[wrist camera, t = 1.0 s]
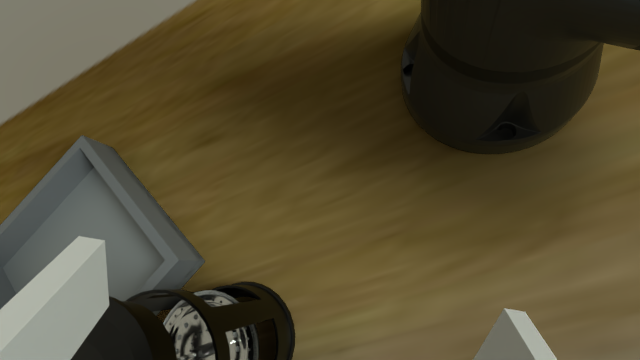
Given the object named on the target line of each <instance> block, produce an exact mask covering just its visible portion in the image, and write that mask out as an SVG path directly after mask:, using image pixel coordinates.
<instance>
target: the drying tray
mask: <svg viewBox="0 0 640 360" xmlns="http://www.w3.org/2000/svg"><path fill="white" fill-rule="evenodd" d="M78 236H82V237H88V238H94V239H100V240H105V250H106V264H107V279H108V294H109V296H110V297H113V298H116V299H118V300H119V301H126V300H127V299H129V298H130V297H132V296H134V295H136V294H139V293H141V292H144V291H149V290H155V289H181V288H182V287H183V286H184V285H185V283H186V282H187V281H188V280H189V279H190V278H191V277H192V276H193V275H194V273H195V272H196V271H197V270H198V269H199V268H200V267H201V266H202V265H203V263H204V262H205V261H204V259H203V258H202V257H201V256H200V254H199V253H198V252H197V251H196V249H195V248H194V247H193V246H192V245H191V243H190V242H189V241H188V240H187V238H186V237H185V236H184V235H183V234H182V232H181V231H180V230H179V229H178V227H177V226H176V225H175V224H174V222H173V221H172V220H171V219H170V218H169V216H168V215H167V214H166V213H165V211H164V210H163V209H162V208H161V206H160V205H159V204H158V203H157V202H156V200H155V199H154V198H153V197H152V195H151V194H150V193H149V192H148V191H147V189H146V188H145V187H144V186H143V184H142V183H141V182H140V181H139V179H138V178H137V177H136V176H135V175H134V173H133V172H132V171H131V170H130V168H129V167H128V166H127V165H126V164H125V162H124V161H123V160H122V159H121V157H120V156H119V155H118V154H117V152H116V151H115V150H114V149H113V148H112V147H110V146H107V145H105V144H102V143H100V142H98V141H95V140H93V139H90V138H88V137H85V136H83V135H82V136H81V137H80V138H79V139H78V140H77V141H76V142H75V143H74V145H73V146H72V147H71V148H70V149H69V150H68V151H67V152H66V153H65V154H64V156H63V157H62V158H61V159H60V160H59V161H58V162H57V163H56V164H55V165H54V167H53V168H52V169H51V170H50V171H49V172H48V173H47V174H46V175H45V176H44V178H43V179H42V180H41V181H40V182H39V183H38V184H37V185H36V186H35V187H34V189H33V190H32V191H31V192H30V193H29V194H28V195H27V196H26V197H25V198H24V200H23V201H22V202H21V203H20V204H19V205H18V206H17V207H16V208H15V209H14V211H13V212H12V213H11V214H10V215H9V216H8V217H7V218H6V219H5V220H4V222H3V223H2V224H1V225H0V309H1V308H2V307H3V306H5V305H6V304H7V303H8V302H9V301H10V300H11V299H12V298H13V297H14V296H15V295H16V294H17V293H18V292H20V291H21V290H22V289H23V288H24V287H25V286H26V285H27V284H28V283H29V282H30V281H31V280H32V279H33V278H34V277H36V276H37V275H38V274H39V273H40V272H41V271H42V270H43V269H44V268H45V267H46V266H47V265H48V264H49V263H51V262H52V261H53V260H54V259H55V258H56V257H57V256H58V255H59V254H60V253H61V252H62V251H63V250H64V249H65V248H67V247H68V246H69V245H70V244H71V243H72V242H73V241H74V240H75V239H76V238H77V237H78ZM166 294H167V293H159V294H156V295H166ZM159 312H160V311H153V313H154V314H155V315H156V316H157V315H158V313H159Z"/></svg>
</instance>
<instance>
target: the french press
mask: <svg viewBox="0 0 640 360" xmlns="http://www.w3.org/2000/svg"><path fill="white" fill-rule="evenodd" d="M159 293H167V294H166V295H156V294H159ZM238 297H251V298H255V299H257V300H254V301H248V302H241V303H240V302H239V301H237V300H236V299H235V298H238ZM168 309H172V310H171V311H170V313H169V314H168V316H167V317H166V319H165V321H164V323H162V321H161V320H160V319H159V318H158V317H157V316H156V315H155V314H154V313H153V311H161V310H168ZM270 319H272V321H273V325H274V328H275V333H276V355H275V359H274V360H291V359H292V357H293V352H294V347H295V330H294V323H293V320H292V317H291V314H290V311H289V310H288V308H287V306H286V304H285V302H284V301H283V300H282V299H281V298H280V296H279V295H278V294H277V293H275V292H274V291H273V290H272V289H270V288H268V287H266V286H264V285H262V284H259V283H255V282H240V283H235V284H232V285H226V286H221V287H217V288H215V289H212V290H205V291H200V292H188V291H185V290H181V289H155V290H149V291H144V292H141V293H139V294H136V295H134V296H132V297H130V298H129V299H127V300H126V301H119V300H118V299H116V298H113V297H110V296H109V307H108V308H107V309H106V311H105V312H104V314H103V315H102V316H101V318H100V319H99V321H98V322H97V323H96V325H95V326H94V328H93V329H92V330H91V332H90V333H89V335H88V336H87V337H86V339H85V340H84V342H83V343H82V344H81V346H80V347H79V349H78V350H77V351H76V353H75V354H74V356H73V357H72V358H71V360H259V338H258V333H257V328H256V325H255V324H256V323H259V322H263V321H266V320H270Z"/></svg>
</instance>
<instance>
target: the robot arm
mask: <svg viewBox="0 0 640 360" xmlns="http://www.w3.org/2000/svg"><path fill="white" fill-rule="evenodd" d="M604 43H606V44H611V45H615V46H620V47H625V48H630V49H635V50H640V0H421V13H420V15H419V17H418V19H417V21H416V23H415V25H414V27H413V29H412V31H411V34H410V36H409V38H408V40H407V42H406V45H405V48H404V51H403V55H402V61H401V82H402V91H403V96H404V100H405V103H406V105H407V107H408V110H409V111H410V113H411V115H412V116H413V118H414V119H415V121H416V122H417V123H418V124H419V125H420V126H421V127H422V128H423V129H424V130H425V131H426V132H427V133H428V134H430V135H431V136H432V137H434V138H435V139H437V140H439V141H440V142H442V143H444V144H446V145H448V146H451V147H454V148H456V149H460V150H463V151H467V152H473V153H481V154H500V153H508V152H514V151H518V150H522V149H525V148H528V147H531V146H534V145H536V144H538V143H540V142H542V141H544V140H546V139H548V138H549V137H551V136H552V135H554V134H555V133H556V132H558V131H559V130H560V129H561V128H562V127H564V126H565V125H566V124H567V123H568V122H569V121H570V120H571V118H572V117H573V116H574V115H575V114H576V113H577V112H578V111H579V110H580V109H581V108H582V106H583V105H584V104H585V102H586V101H587V99H588V97H589V96H590V94H591V92H592V90H593V88H594V86H595V83H596V80H597V77H598V73H599V68H600V62H601V56H602V50H603V44H604ZM108 307H109V294H108V279H107V264H106V250H105V240H100V239H94V238H88V237H82V236H78V237H77V238H76V239H75V240H74V241H73V242H72V243H71V244H70V245H69V246H68V247H67V248H65V249H64V250H63V251H62V252H61V253H60V254H59V255H58V256H57V257H56V258H55V259H54V260H53V261H52V262H51V263H49V264H48V265H47V266H46V267H45V268H44V269H43V270H42V271H41V272H40V273H39V274H38V275H37V276H36V277H34V278H33V279H32V280H31V281H30V282H29V283H28V284H27V285H26V286H25V287H24V288H23V289H22V290H21V291H20V292H18V293H17V294H16V295H15V296H14V297H13V298H12V299H11V300H10V301H9V302H8V303H7V304H6V305H5V306H3V307H2V308H1V309H0V360H71V358H72V357H73V356H74V354H75V353H76V351H77V350H78V349H79V347H80V346H81V344H82V343H83V342H84V340H85V339H86V337H87V336H88V335H89V333H90V332H91V330H92V329H93V328H94V326H95V325H96V323H97V322H98V321H99V319H100V318H101V316H102V315H103V314H104V312H105V311H106V309H107V308H108ZM473 360H557V359H556V357H555V356H554V354H553V353H552V351H551V350H550V348H549V347H548V345H547V344H546V342H545V341H544V339H543V338H542V336H541V335H540V333H539V332H538V330H537V329H536V327H535V326H534V324H533V323H532V321H531V320H530V318H529V317H528V315H527V314H526V312H523V311H517V310H511V309H505V308H504V310H503V311H502V313H501V315H500V316H499V318H498V319H497V321H496V323H495V324H494V326H493V328H492V329H491V331H490V333H489V334H488V336H487V338H486V339H485V341H484V343H483V344H482V346H481V348H480V349H479V351H478V352H477V354H476V356H475V357H474V359H473Z"/></svg>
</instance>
